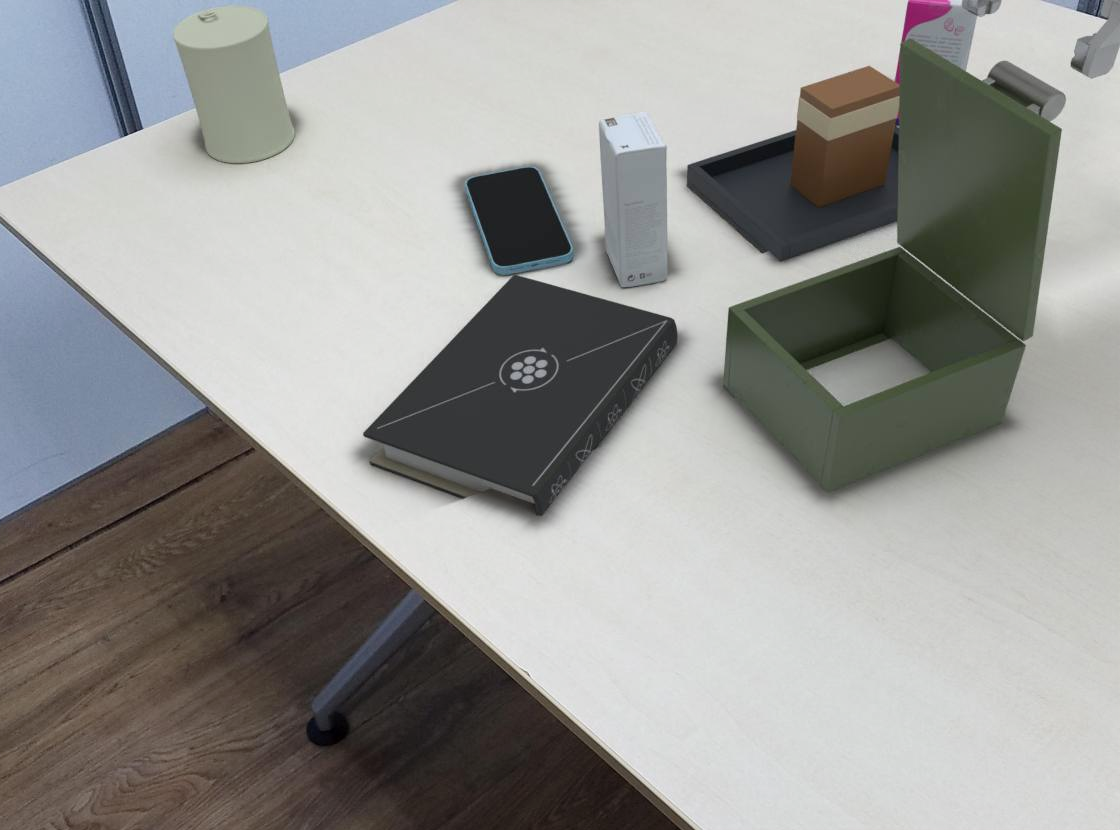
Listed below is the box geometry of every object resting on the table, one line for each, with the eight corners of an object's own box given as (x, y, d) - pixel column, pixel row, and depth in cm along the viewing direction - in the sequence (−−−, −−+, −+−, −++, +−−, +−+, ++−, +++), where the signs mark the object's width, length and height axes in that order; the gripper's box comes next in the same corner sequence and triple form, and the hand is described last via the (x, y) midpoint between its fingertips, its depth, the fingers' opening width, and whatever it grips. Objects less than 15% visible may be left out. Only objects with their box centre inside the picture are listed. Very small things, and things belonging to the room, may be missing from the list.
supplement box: (960, 103, 113) (987, -21, 105) (947, 132, 110) (974, 7, 101) (900, 95, 115) (921, -27, 107) (885, 124, 112) (906, 0, 103)
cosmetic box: (669, 281, 98) (673, 145, 89) (617, 290, 98) (615, 155, 89) (650, 242, 102) (652, 108, 93) (600, 250, 102) (597, 117, 93)
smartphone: (494, 269, 100) (462, 178, 109) (495, 280, 100) (463, 188, 110) (576, 253, 100) (537, 164, 110) (576, 264, 101) (538, 174, 110)
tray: (864, 127, 112) (867, 106, 110) (970, 202, 102) (976, 180, 101) (686, 185, 108) (687, 164, 106) (779, 269, 98) (782, 247, 96)
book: (542, 528, 80) (539, 497, 78) (368, 464, 86) (361, 433, 84) (678, 350, 92) (679, 319, 90) (516, 304, 98) (514, 273, 95)
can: (267, 109, 124) (238, -9, 115) (311, 140, 119) (284, 19, 109) (190, 140, 120) (153, 22, 111) (232, 174, 115) (197, 52, 106)
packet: (854, 162, 107) (869, 64, 100) (885, 184, 104) (903, 86, 97) (789, 184, 105) (799, 87, 98) (818, 208, 102) (831, 109, 96)
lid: (1050, 134, 65) (1125, 95, 65) (899, 42, 73) (967, 8, 73) (1023, 342, 77) (1086, 307, 77) (896, 243, 85) (954, 212, 86)
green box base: (825, 504, 80) (840, 417, 74) (721, 393, 88) (728, 307, 82) (998, 433, 83) (1026, 345, 77) (882, 333, 91) (900, 246, 86)
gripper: (1329, -203, 52) (1211, 97, 63) (1019, -294, 65) (964, -31, 75) (1220, -173, 51) (1119, 129, 61) (925, -272, 63) (883, -7, 74)
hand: (1032, 40), depth 68 cm, fingers open, 8 cm apart
